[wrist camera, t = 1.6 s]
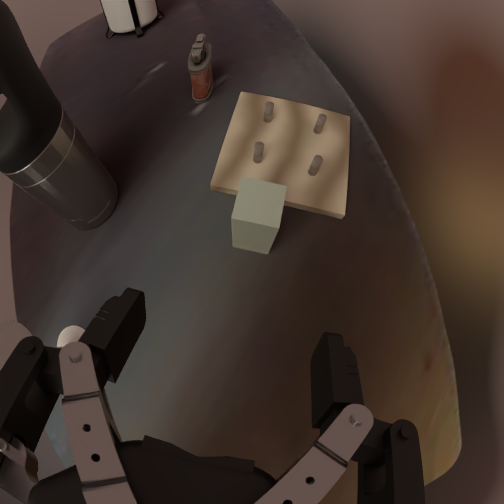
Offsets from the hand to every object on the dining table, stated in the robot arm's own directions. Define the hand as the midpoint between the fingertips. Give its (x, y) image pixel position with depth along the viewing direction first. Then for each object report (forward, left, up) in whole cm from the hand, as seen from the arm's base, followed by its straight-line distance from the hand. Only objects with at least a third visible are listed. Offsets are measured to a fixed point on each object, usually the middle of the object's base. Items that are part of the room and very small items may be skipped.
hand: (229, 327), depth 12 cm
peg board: (-11, +23, -22) cm, 34 cm away
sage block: (-6, +10, -22) cm, 25 cm away
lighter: (-30, +24, -23) cm, 45 cm away
